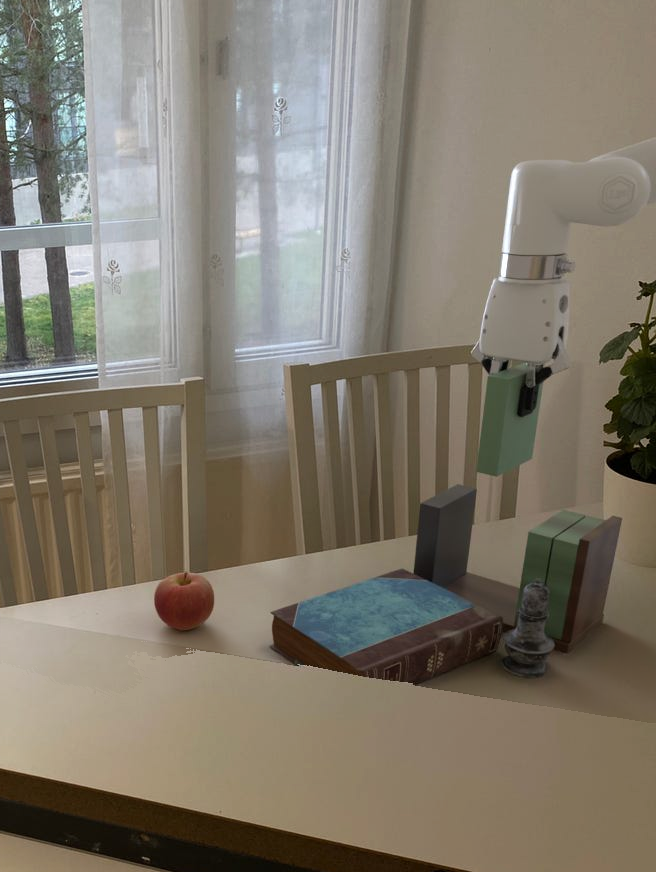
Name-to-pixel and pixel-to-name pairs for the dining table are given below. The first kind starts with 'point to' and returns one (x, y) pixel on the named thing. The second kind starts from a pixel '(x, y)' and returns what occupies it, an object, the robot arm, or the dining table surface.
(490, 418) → the green book
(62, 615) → the dining table surface
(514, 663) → the grey chess piece
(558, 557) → the book rack
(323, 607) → the book
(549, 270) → the robot arm
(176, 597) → the apple
